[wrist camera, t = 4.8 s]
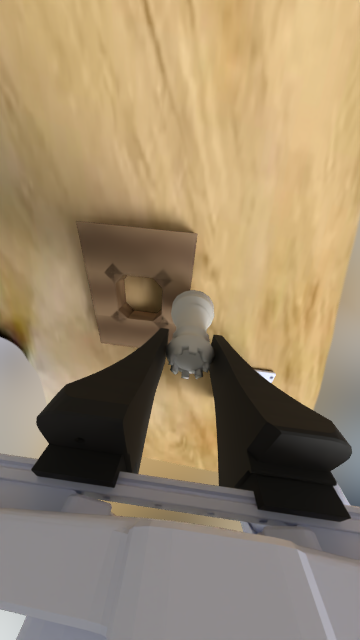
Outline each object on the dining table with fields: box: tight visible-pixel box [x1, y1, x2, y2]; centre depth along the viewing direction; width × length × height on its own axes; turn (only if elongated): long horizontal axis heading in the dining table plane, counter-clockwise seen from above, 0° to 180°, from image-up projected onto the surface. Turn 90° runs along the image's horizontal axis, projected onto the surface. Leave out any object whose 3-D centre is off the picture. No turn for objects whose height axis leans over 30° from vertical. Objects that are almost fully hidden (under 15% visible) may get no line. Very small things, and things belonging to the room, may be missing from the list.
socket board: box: [76, 221, 197, 348], centre depth 19 cm, size 15×12×2 cm
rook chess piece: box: [165, 290, 215, 379], centre depth 12 cm, size 4×4×8 cm
